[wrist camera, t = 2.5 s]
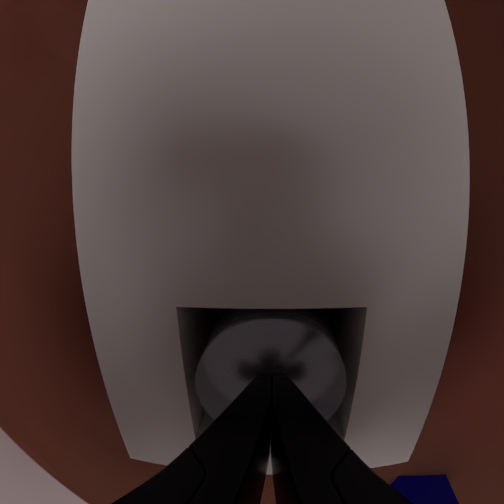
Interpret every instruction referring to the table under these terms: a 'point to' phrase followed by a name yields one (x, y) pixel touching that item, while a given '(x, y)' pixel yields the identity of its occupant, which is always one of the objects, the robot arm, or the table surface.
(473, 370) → the table surface
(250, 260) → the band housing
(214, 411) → the peg
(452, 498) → the blue arch block
